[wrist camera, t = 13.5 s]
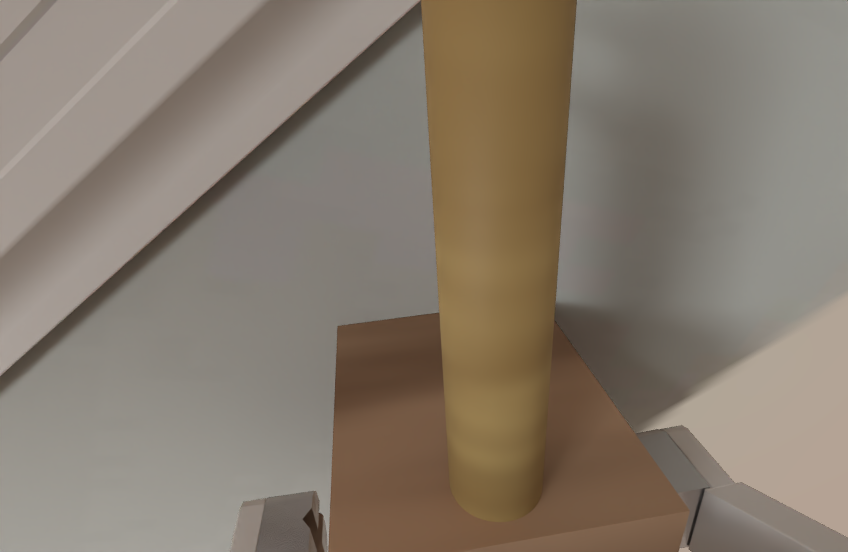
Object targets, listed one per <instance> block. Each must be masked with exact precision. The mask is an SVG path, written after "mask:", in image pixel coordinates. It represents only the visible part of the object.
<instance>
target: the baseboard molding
mask: <svg viewBox="0 0 848 552" xmlns="http://www.w3.org/2000/svg"><path fill="white" fill-rule="evenodd" d="M420 1H421V0H0V376H1V375H2V374H3V373H4V372H6V371H7V370H8V369H9V368H10V367H11V366H12V365H13V364H14V363H16V362H17V361H18V360H19V359H20V358H21V357H22V356H23V355H25V354H26V353H27V352H28V351H29V350H30V349H31V348H32V347H33V346H35V345H36V344H37V343H38V342H39V341H40V340H41V339H42V338H44V337H45V336H46V335H47V334H48V333H49V332H50V331H51V330H53V329H54V328H55V327H56V326H57V325H58V324H59V323H60V322H61V321H63V320H64V319H65V318H66V317H67V316H68V315H69V314H70V313H72V312H73V311H74V310H75V309H76V308H77V307H78V306H79V305H81V304H82V303H83V302H84V301H85V300H86V299H87V298H88V297H89V296H91V295H92V294H93V293H94V292H95V291H96V290H97V289H98V288H100V287H101V286H102V285H103V284H104V283H105V282H106V281H107V280H108V279H110V278H111V277H112V276H113V275H114V274H115V273H116V272H117V271H119V270H120V269H121V268H122V267H123V266H124V265H125V264H126V263H128V262H129V261H130V260H131V259H132V258H133V257H134V256H135V255H136V254H138V253H139V252H140V251H141V250H142V249H143V248H144V247H145V246H147V245H148V244H149V243H150V242H151V241H152V240H153V239H154V238H155V237H157V236H158V235H159V234H160V233H161V232H162V231H163V230H164V229H166V228H167V227H168V226H169V225H170V224H171V223H172V222H173V221H175V220H176V219H177V218H178V217H179V216H180V215H181V214H182V213H183V212H185V211H186V210H187V209H188V208H189V207H190V206H191V205H192V204H194V203H195V202H196V201H197V200H198V199H199V198H200V197H201V196H202V195H204V194H205V193H206V192H207V191H208V190H209V189H210V188H211V187H213V186H214V185H215V184H216V183H217V182H218V181H219V180H220V179H222V178H223V177H224V176H225V175H226V174H227V173H228V172H229V171H230V170H232V169H233V168H234V167H235V166H236V165H237V164H238V163H239V162H241V161H242V160H243V159H244V158H245V157H246V156H247V155H248V154H250V153H251V152H252V151H253V150H254V149H255V148H256V147H257V146H258V145H260V144H261V143H262V142H263V141H264V140H265V139H266V138H267V137H269V136H270V135H271V134H272V133H273V132H274V131H275V130H276V129H277V128H279V127H280V126H281V125H282V124H283V123H284V122H285V121H286V120H288V119H289V118H290V117H291V116H292V115H293V114H294V113H295V112H297V111H298V110H299V109H300V108H301V107H302V106H303V105H304V104H305V103H307V102H308V101H309V100H310V99H311V98H312V97H313V96H314V95H316V94H317V93H318V92H319V91H320V90H321V89H322V88H323V87H324V86H326V85H327V84H328V83H329V82H330V81H331V80H332V79H333V78H335V77H336V76H337V75H338V74H339V73H340V72H341V71H342V70H344V69H345V68H346V67H347V66H348V65H349V64H350V63H351V62H352V61H354V60H355V59H356V58H357V57H358V56H359V55H360V54H361V53H363V52H364V51H365V50H366V49H367V48H368V47H369V46H370V45H371V44H373V43H374V42H375V41H376V40H377V39H378V38H379V37H380V36H382V35H383V34H384V33H385V32H386V31H387V30H388V29H389V28H391V27H392V26H393V25H394V24H395V23H396V22H397V21H398V20H399V19H401V18H402V17H403V16H404V15H405V14H406V13H407V12H408V11H410V10H411V9H412V8H413V7H414V6H415V5H416V4H417V3H419V2H420Z"/></svg>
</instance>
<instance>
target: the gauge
mask: <svg viewBox="0 0 848 552" xmlns="http://www.w3.org/2000/svg"><path fill="white" fill-rule="evenodd" d="M576 4H577V0H421V10H422V27H423V43H424V60H425V77H426V94H427V111H428V128H429V145H430V162H431V179H432V196H433V213H434V230H435V247H436V264H437V281H438V297H439V313H433V314H426V315H418V316H410V317H403V318H395V319H388V320H380V321H372V322H365V323H357V324H349V325H342V326H338V329H337V353H336V378H335V403H334V428H333V453H332V477H331V502H330V527H329V552H678V551H679V548H680V544H681V541H682V537H683V534H684V530H685V527H686V523H687V520H688V516H689V513H690V510H689V509H688V507H687V506H686V504H685V503H684V502H683V500H682V499H681V497H680V496H679V495H678V493H677V492H676V490H675V489H674V488H673V486H672V485H671V483H670V482H669V481H668V479H667V478H666V476H665V475H664V474H663V472H662V471H661V469H660V468H659V467H658V465H657V464H656V462H655V461H654V460H653V458H652V457H651V455H650V454H649V452H648V451H647V450H646V448H645V447H644V445H643V444H642V443H641V441H640V440H639V438H638V437H637V436H636V434H635V433H634V431H633V430H632V429H631V427H630V426H629V424H628V423H627V422H626V420H625V419H624V417H623V416H622V415H621V413H620V412H619V410H618V409H617V408H616V406H615V405H614V403H613V402H612V401H611V399H610V398H609V396H608V395H607V394H606V392H605V391H604V389H603V388H602V386H601V385H600V384H599V382H598V381H597V379H596V378H595V377H594V375H593V374H592V372H591V371H590V370H589V368H588V367H587V365H586V364H585V363H584V361H583V360H582V358H581V357H580V356H579V354H578V353H577V351H576V350H575V349H574V347H573V346H572V344H571V343H570V342H569V340H568V339H567V337H566V336H565V335H564V333H563V332H562V330H561V329H560V328H559V326H558V325H557V323H556V322H555V320H554V317H555V303H556V289H557V274H558V260H559V246H560V232H561V217H562V203H563V189H564V175H565V160H566V146H567V132H568V118H569V103H570V89H571V75H572V61H573V46H574V32H575V18H576Z"/></svg>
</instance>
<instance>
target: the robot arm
mask: <svg viewBox="0 0 848 552" xmlns="http://www.w3.org/2000/svg"><path fill="white" fill-rule="evenodd" d="M635 434H636V436H637V437H638V438H639V440H640V441H641V443H642V444H643V445H644V447H645V448H646V450H647V451H648V452H649V454H650V455H651V457H652V458H653V460H654V461H655V462H656V464H657V465H658V467H659V468H660V469H661V471H662V472H663V474H664V475H665V476H666V478H667V479H668V481H669V482H670V483H671V485H672V486H673V488H674V489H675V490H676V492H677V493H678V495H679V496H680V497H681V499H682V500H683V502H684V503H685V504H686V506H687V507H688V509H689V510H690V513H689V516H688V520H687V523H686V527H685V530H684V534H683V537H682V541H681V544H680V548H684V547H689V550H690V551H692V552H848V538H847V537H846V536H844V535H841V534H840V533H838V532H836V531H834V530H832V529H830V528H828V527H826V526H825V525H823V524H820V523H819V522H817V521H815V520H813V519H811V518H809V517H807V516H805V515H803V514H801V513H799V512H798V511H796V510H794V509H792V508H790V507H788V506H786V505H784V504H782V503H780V502H778V501H776V500H775V499H773V498H771V497H769V496H767V495H765V494H763V493H761V492H759V491H757V490H755V489H754V488H751V487H750V486H748V485H746V484H744V483H734V481H732V479H731V478H730V477H729V476H728V475H727V473H726V472H725V471H724V470H723V469H722V468H721V467H720V465H719V464H718V463H717V462H716V461H715V460H714V458H713V457H712V456H711V455H710V454H709V453H708V452H707V450H706V449H705V448H704V447H703V446H702V445H701V444H700V442H699V441H698V440H697V439H696V438H695V437H694V435H693V434H692V433H691V432H690V431H689V430H688V429H687V428H686V427H684V426H676V427H670V428H664V429H660V430H658V429H656V430H651V431H646V432H640V433H635ZM230 552H328V546H327V531H326V525H325V520H324V516H323V515H322V514H321V513H319V498H318V495H317V492H316V491H309V492H303V493H296V494H289V495H282V496H275V497H269V498H263V499H257V500H251V501H245V502H243V503H242V505H241V507H240V509H239V512H238V517H237V521H236V525H235V530H234V534H233V538H232V543H231V547H230Z"/></svg>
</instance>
